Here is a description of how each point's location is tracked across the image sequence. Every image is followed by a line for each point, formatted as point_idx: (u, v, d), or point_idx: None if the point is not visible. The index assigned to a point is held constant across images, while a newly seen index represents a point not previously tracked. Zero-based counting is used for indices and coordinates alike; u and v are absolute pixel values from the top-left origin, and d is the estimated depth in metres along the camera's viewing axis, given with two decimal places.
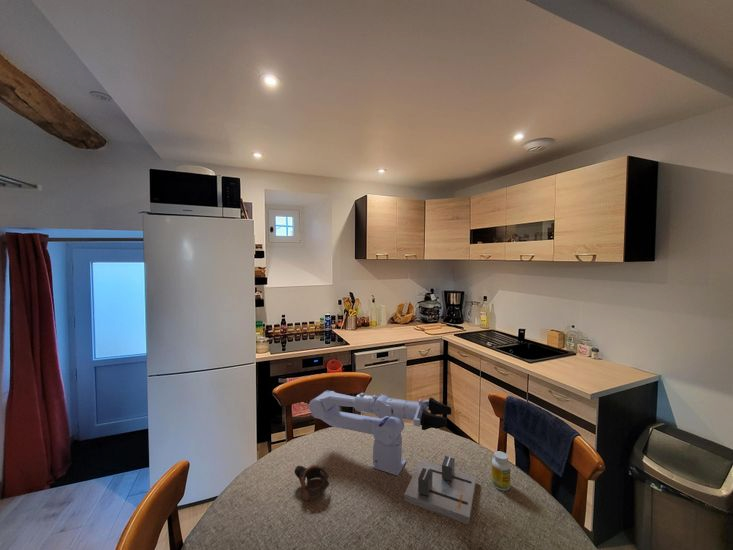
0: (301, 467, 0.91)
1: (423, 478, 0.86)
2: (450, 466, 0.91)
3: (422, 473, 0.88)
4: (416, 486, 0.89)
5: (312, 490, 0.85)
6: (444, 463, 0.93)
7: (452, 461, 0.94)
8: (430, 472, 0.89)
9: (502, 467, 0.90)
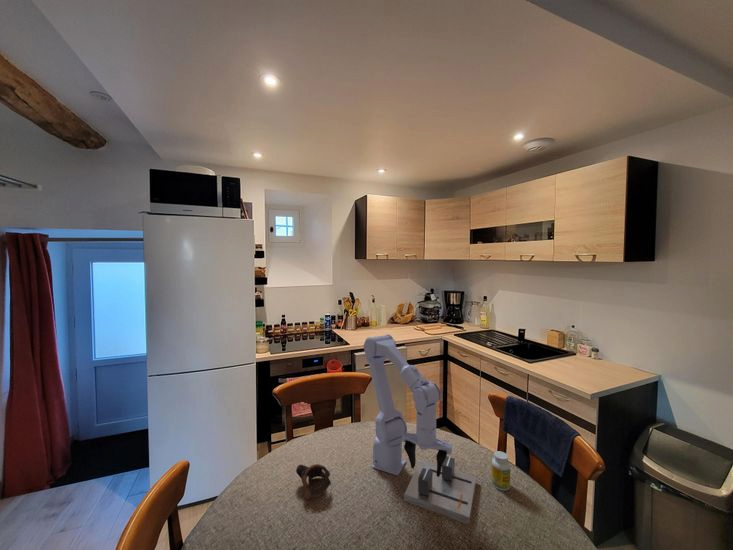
0: (303, 466, 0.92)
1: (423, 478, 0.86)
2: (450, 466, 0.91)
3: (422, 473, 0.88)
4: (416, 486, 0.89)
5: (314, 489, 0.85)
6: (444, 463, 0.93)
7: (452, 461, 0.94)
8: (430, 472, 0.89)
9: (502, 467, 0.90)
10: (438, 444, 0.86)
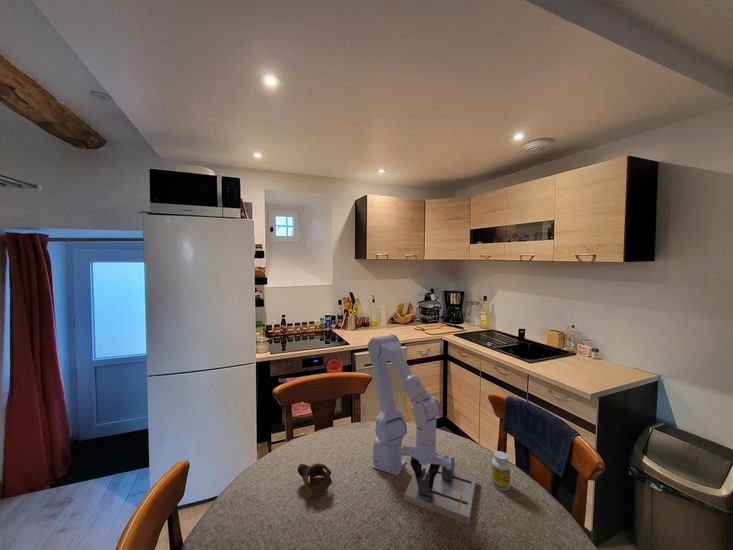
0: (304, 465, 0.92)
1: (423, 478, 0.86)
2: None
3: (422, 473, 0.88)
4: (416, 486, 0.89)
5: (315, 488, 0.86)
6: None
7: (452, 461, 0.94)
8: None
9: (502, 467, 0.90)
10: (438, 459, 0.86)
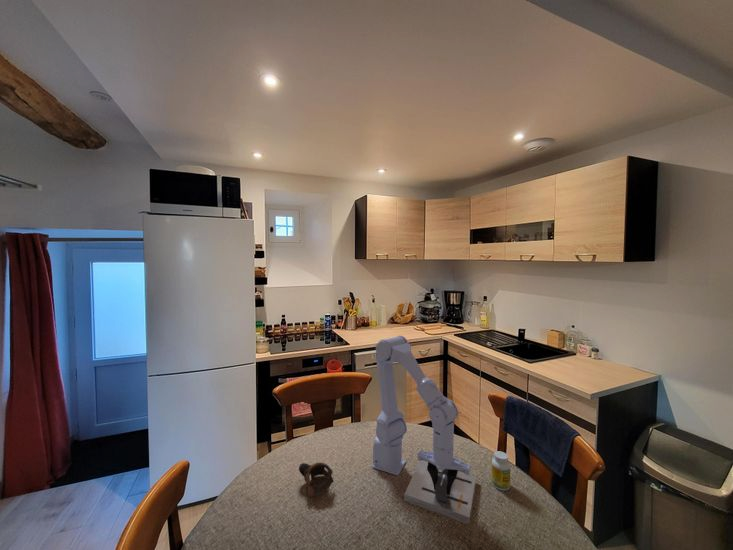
0: (305, 464, 0.93)
1: (440, 483, 0.84)
2: None
3: (439, 478, 0.86)
4: (416, 486, 0.89)
5: (317, 487, 0.86)
6: None
7: None
8: None
9: (502, 467, 0.90)
10: (456, 464, 0.83)
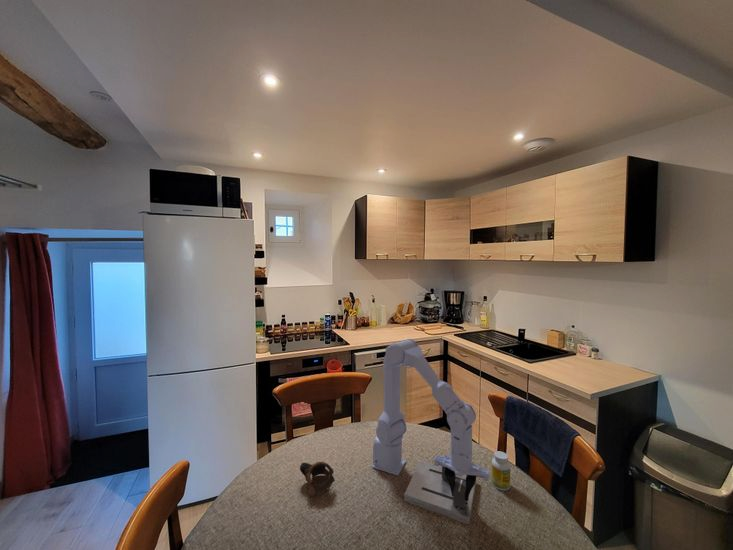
0: (306, 464, 0.93)
1: (458, 489, 0.82)
2: None
3: (457, 484, 0.84)
4: (416, 486, 0.89)
5: (318, 486, 0.86)
6: None
7: None
8: (465, 483, 0.84)
9: (502, 467, 0.90)
10: (474, 469, 0.81)
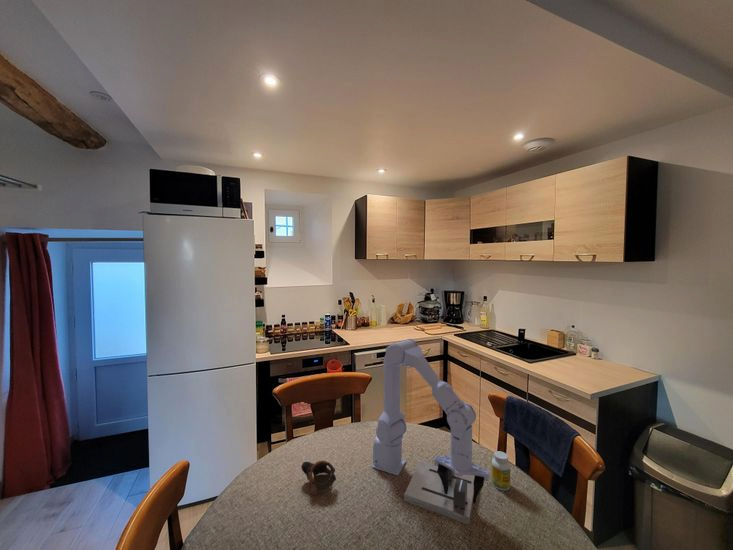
0: (308, 463, 0.93)
1: (459, 489, 0.82)
2: None
3: (457, 484, 0.84)
4: (416, 486, 0.89)
5: (320, 484, 0.87)
6: None
7: None
8: (465, 483, 0.84)
9: (502, 467, 0.90)
10: (474, 469, 0.81)
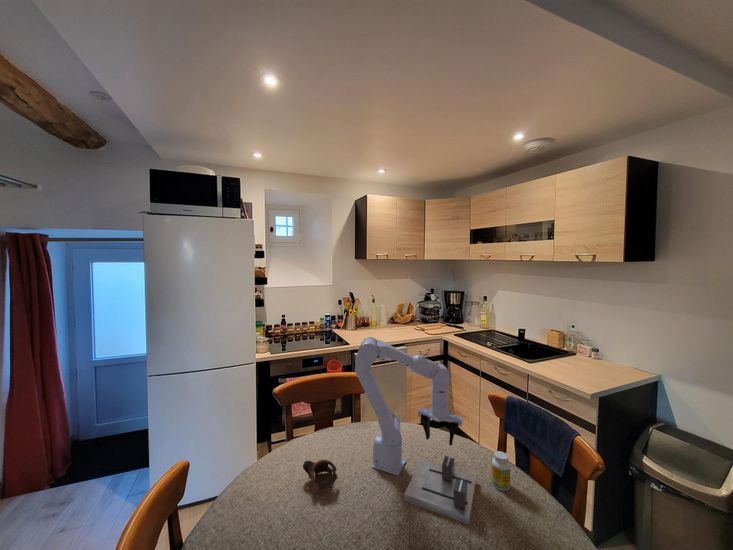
0: (309, 462, 0.94)
1: (459, 489, 0.82)
2: (450, 466, 0.91)
3: (457, 484, 0.84)
4: (416, 486, 0.89)
5: (322, 483, 0.87)
6: (444, 463, 0.93)
7: (452, 461, 0.94)
8: (465, 483, 0.84)
9: (502, 467, 0.90)
10: (450, 417, 0.98)
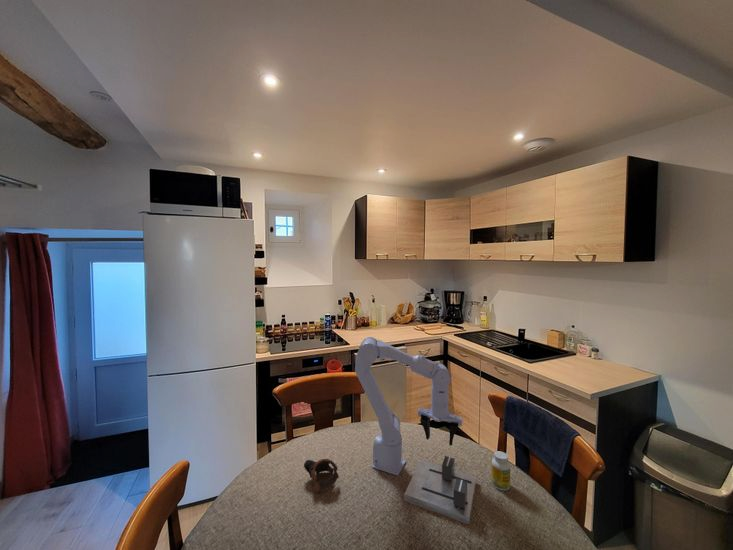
0: (310, 461, 0.94)
1: (459, 489, 0.82)
2: (450, 466, 0.91)
3: (457, 484, 0.84)
4: (416, 486, 0.89)
5: (323, 482, 0.88)
6: (444, 463, 0.93)
7: (452, 461, 0.94)
8: (465, 483, 0.84)
9: (502, 467, 0.90)
10: (450, 417, 0.98)
